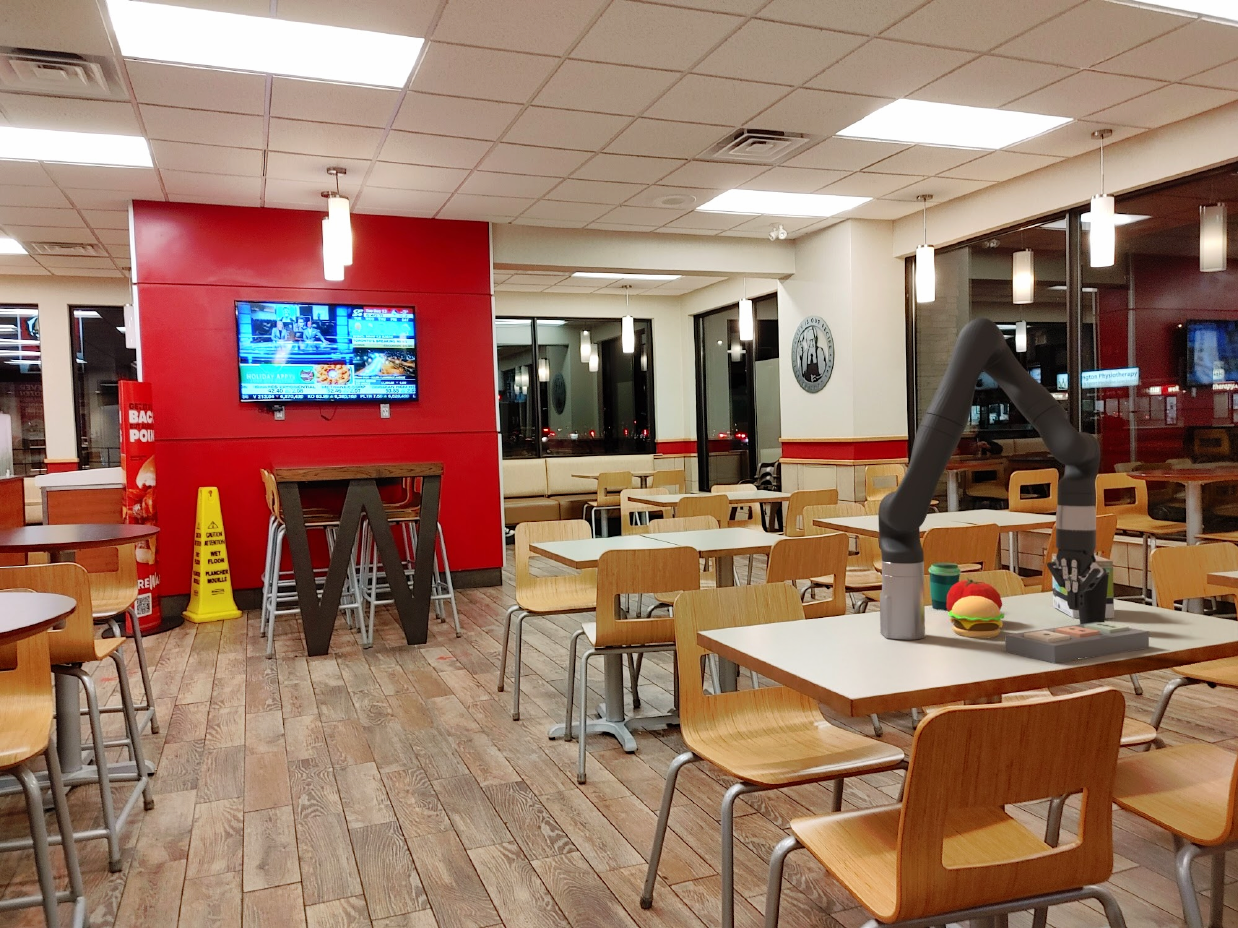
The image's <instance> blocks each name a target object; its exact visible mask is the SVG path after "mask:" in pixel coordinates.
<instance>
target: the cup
mask: <svg viewBox="0 0 1238 928" xmlns="http://www.w3.org/2000/svg"><path fill="white" fill-rule="evenodd" d="M928 572H929V586H930V587H929V589H930V598H931V606H932V608H933V609H934V610H937V611H938V610H939V611H948V609H947V594H948V592H949V590H950V589H951V587H952V586H953V585H954V584H956V583H958V582H960V575H961V574H962V570H961V569H960V568H959V565H958V564H957V563H954V562H953V563H952V562H935V563H932V564H931V566H930V567H929V568H928Z"/></svg>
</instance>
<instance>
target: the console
mask: <svg viewBox="0 0 1238 928" xmlns="http://www.w3.org/2000/svg"><path fill="white" fill-rule="evenodd" d="M1094 623H1101V622H1093V623H1086V624H1080V623H1079V624H1071V625H1067V626H1066V625H1065V626H1064V625H1063V626H1058V627H1051V628H1043V629H1039V630H1038V629H1037V630H1030V631H1022V632H1013V633H1008V634H1004V635H1005V652H1007V653H1011V654H1015V655H1019V656H1024V657H1027V658H1031V659H1035V660H1038V661H1039V660H1040V661H1044V662H1048V663H1052V664H1059V663H1064V662H1070V661H1069V660H1072V661H1076V660H1075V659H1078V658H1084V659H1086V658H1085V657H1090V658H1094V657H1093V656H1096V657H1100V656H1099V655H1102V656H1109V655H1114V654H1120V652H1121V653H1125V652H1126V653H1127V652H1131V651H1132V652H1133V651H1137V650H1145V649H1149V648H1150V633H1149V630H1142V629H1137V628H1133V627H1129V631H1123V632H1116V633H1106V632H1101V631H1100V635H1096V636H1089V637H1082V638H1079V637H1074V636H1070V639H1069V640H1062V641H1055V642H1045V641H1040V640H1036V639H1031V638H1026V637H1024V633H1030V632H1038V631H1050V632H1054V633H1055V629H1058V628H1065V627H1072V626H1076V627H1081V628H1084V625H1087V624H1094ZM1078 660H1079V659H1078Z"/></svg>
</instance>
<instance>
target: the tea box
mask: <svg viewBox="0 0 1238 928" xmlns="http://www.w3.org/2000/svg"><path fill="white" fill-rule="evenodd" d="M1056 555H1057V553H1051V562H1053V561H1054V560H1055V559H1056ZM1094 556H1095V558H1096V564H1097V565H1098V566H1099V567H1101V568H1105V569H1106V570H1108V571H1110V574H1109V578H1108V589H1107V601H1106V612H1105V619H1114V618H1115V603H1114V602H1115V600H1114V599H1115V597H1114V596H1115V595H1114V594H1115V593H1114V563H1113V561H1114V560H1111V559H1108V558H1106V557H1102V556H1099V555H1096V554H1094ZM1070 576H1072V575H1070ZM1051 577H1052V607H1053V608H1055V609H1057V610H1059V611H1060V612H1062V613H1063V614H1066V615H1067V616H1069V617H1070V616H1071V618H1072V619H1080V618H1079V610H1072V609H1069V606H1068V604H1067V591H1066V589H1065V588H1063V587H1059V585H1058V583H1057V582H1056V580H1055V578H1054V577H1053V575H1052V574H1051Z"/></svg>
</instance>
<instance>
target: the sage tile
mask: <svg viewBox="0 0 1238 928" xmlns="http://www.w3.org/2000/svg"><path fill="white" fill-rule="evenodd" d="M1084 628H1087V629H1092V630H1097V631H1101V632H1106V633H1116V632H1123V631H1129V628H1130V627H1129V626H1127V625H1126V626H1125V625H1120V624H1115V623H1110V622H1106V621H1105V622H1101V623H1094V624H1087V625H1084Z"/></svg>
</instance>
